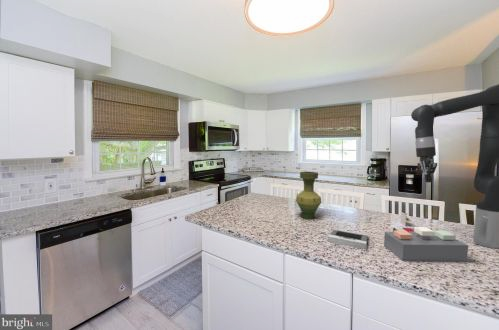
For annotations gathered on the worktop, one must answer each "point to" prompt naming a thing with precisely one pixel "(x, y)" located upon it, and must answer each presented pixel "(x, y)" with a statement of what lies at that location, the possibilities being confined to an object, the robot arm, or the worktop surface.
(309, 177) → the vase
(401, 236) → the terracotta key
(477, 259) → the worktop surface
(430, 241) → the key console
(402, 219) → the architectural model
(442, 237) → the sage key
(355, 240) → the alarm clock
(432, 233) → the cream key
